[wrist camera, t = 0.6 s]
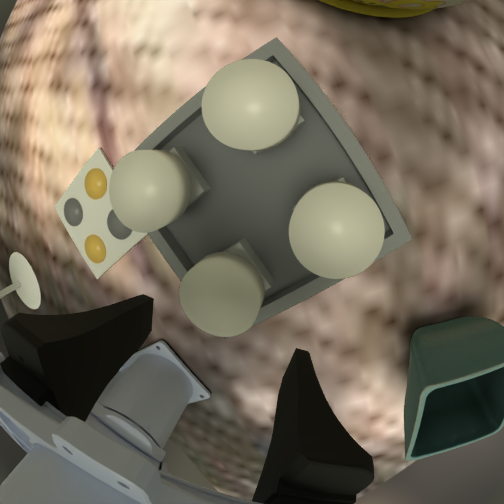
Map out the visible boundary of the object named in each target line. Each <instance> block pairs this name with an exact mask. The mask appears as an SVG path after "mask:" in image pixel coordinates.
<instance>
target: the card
mask: <svg viewBox="0 0 504 504" xmlns="http://www.w3.org/2000/svg"><path fill="white" fill-rule="evenodd" d="M112 172H113V167H112V165H111V164H110V162H109V160H108V159H107V157H106V155H105V153H104V152H103V150H102V148H98V149H97V151H96V152H95V153H94V154H93V155H92V157H91V158H90V159H89V161H88V162H87V163H86V164H85V166H84V167H83V168H82V170H81V171H80V172H79V173H78V175H77V176H76V178H75V179H74V180H73V182H72V183H71V184H70V186H69V187H68V189H67V190H66V191H65V193H64V194H63V196H62V197H61V199H60V200H59V202H58V203H57V205H56V206H55V209H56V211H57V213H58V215H59V216H60V218H61V220H62V222H63V224H64V226H65V227H66V229H67V231H68V233H69V234H70V236H71V238H72V240H73V241H74V243H75V245H76V246H77V248H78V250H79V251H80V253H81V255H82V256H83V258H84V259H85V261H86V263H87V264H88V266H89V267H90V269H91V270H92V272H93V273H94V275H95V277H96V278H97V279H98V278H100V277H101V276H102V275H103V274H104V273H105V272H106V271H107V270H108V269H109V268H110V267H111V266H113V265H114V264H115V263H116V262H117V261H118V260H119V259H120V258H121V257H122V256H124V255H125V254H126V253H127V252H128V251H129V250H130V249H131V248H133V247H134V246H135V245H136V244H137V243H138V242H139V241H141V240H142V239H143V238H144V237H145V236H146V235H147V234H148V233H140V232H136V231H133V230H131V229H129V228H128V227H126V226H125V225H124V224H123V223H122V222H121V221H120V220H119V219H118V217H117V216H116V214H115V212H114V210H113V208H112V205H111V202H110V197H109V183H110V178H111V174H112Z"/></svg>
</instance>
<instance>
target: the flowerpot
mask: <svg viewBox="0 0 504 504" xmlns="http://www.w3.org/2000/svg"><path fill="white" fill-rule="evenodd" d="M319 1H322V2H324V3H327V4H329V5H332V6H335V7H338V8H341V9H344V10H348V11H352V12H356V13H360V14H365V15H371V16H378V17H390V18H402V17H413V16H418V15H421V14H424V13H427V12H429V11H431V10H433V9H436V8H443V7H449V6H454V5H458V4H461V3H464V2H467V1H470V0H319Z"/></svg>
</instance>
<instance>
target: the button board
mask: <svg viewBox="0 0 504 504" xmlns="http://www.w3.org/2000/svg"><path fill="white" fill-rule="evenodd" d="M244 59H260V60H265V61H268V62H271V63H273V64H275V65H277V66H278V67H280V68H281V69H282V70H284V71H285V72H286V73H287V74H288V75H289V77H290V78H291V80H292V81H293V83H294V85H295V88H296V91H297V94H298V97H299V101H300V117H299V121H298V124H297V126H296V128H295V130H294V131H293V133H292V134H291V135H290V136H289V137H288V138H287V139H286V140H285V141H284V142H283V143H281V144H279V145H278V146H276V147H273V148H271V149H267V150H262V151H250V150H241V149H236V148H232V147H229V146H227V145H225V144H223V143H221V142H220V141H219V140H217V139H216V138H215V137H214V136H213V135H212V134H211V133H210V131H209V130H208V128H207V127H206V124H205V122H204V119H203V116H202V97H203V93H204V91H205V88H206V87H204V88H203V89H202V90H201V91H199V92H198V93H197V94H196V95H195V96H193V97H192V98H191V99H190V100H189V101H187V102H186V103H185V104H184V105H183V106H181V107H180V108H179V109H178V110H177V111H176V112H175V113H173V114H172V115H171V116H170V117H169V118H168V119H167V120H166V121H165V122H163V123H162V124H161V125H160V126H159V127H158V128H157V129H156V130H155V131H154V132H153V133H152V134H151V135H150V136H149V137H148V138H146V139H145V140H144V141H143V142H142V143H141V144H140V145H139V146H138V147H137V148H136V149H135V150H134V151H136V150H165V151H168V152H171V153H173V154H174V155H176V156H177V157H178V158H179V159H180V160H181V161H182V162H183V163H184V165H185V166H186V168H187V170H188V173H189V176H190V179H191V197H190V201H189V204H188V206H187V209H186V210H185V212H184V213H183V214H182V216H181V217H179V218H178V219H177V220H176V221H174V222H172V223H170V224H168V225H166V226H164V227H162V228H160V229H158V230H156V231H153V232H149V233H148V235H149V236H150V238H151V239H152V241H153V242H154V244H155V245H156V247H157V248H158V250H159V251H160V252H161V254H162V255H163V257H164V258H165V260H166V261H167V262H168V264H169V265H170V267H171V268H172V269H173V271H174V272H175V274H176V275H177V276H178V278H179V279H180V281H182V279H183V277H184V276H185V274H186V273H187V272H188V271H189V270H190V269H191V268H193V267H194V266H195V265H196V264H197V263H198V262H199V261H200V260H201V259H203V258H204V257H206V256H207V255H209V254H212V253H216V252H230V253H234V254H237V255H240V256H242V257H243V258H245V259H247V260H248V261H249V262H251V263H252V264H253V265H254V266H255V268H256V269H257V270H258V272H259V273H260V275H261V277H262V280H263V283H264V288H265V294H264V299H263V303H262V305H261V308H260V310H259V313H258V315H257V318H256V320H255V322H254V323H253V325H252V326H254V325H256V324H258V323H260V322H262V321H264V320H266V319H268V318H270V317H272V316H274V315H276V314H278V313H280V312H282V311H284V310H286V309H288V308H290V307H292V306H294V305H296V304H298V303H300V302H302V301H304V300H306V299H308V298H310V297H312V296H313V295H315V294H317V293H319V292H321V291H323V290H325V289H327V288H328V287H330V286H332V285H334V284H336V283H338V282H340V281H341V280H343V279H345V278H343V279H330V278H325V277H321V276H319V275H316V274H314V273H312V272H311V271H309V270H308V269H307V268H305V267H304V266H303V265H302V264H301V263H300V262H299V260H298V259H297V258H296V256H295V254H294V252H293V250H292V248H291V244H290V240H289V223H290V219H291V216H292V213H293V211H294V209H295V207H296V204H297V203H298V201H299V199H300V198H301V197H302V195H303V194H304V193H305V192H306V191H308V190H309V189H310V188H312V187H314V186H315V185H317V184H320V183H323V182H327V181H341V182H346V183H349V184H352V185H354V186H356V187H357V188H359V189H360V190H362V191H363V192H364V193H366V194H367V195H368V196H369V197H370V198H371V199H372V200H373V201H374V202H375V203H376V205H377V206H378V208H379V210H380V212H381V214H382V217H383V221H384V229H385V234H384V241H383V245H382V248H381V251H380V252H379V254H378V256H377V258H376V259H375V260H374V262H375V261H377V260H378V259H380V258H382V257H383V256H385V255H387V254H388V253H390V252H392V251H393V250H395V249H397V248H398V247H400V246H402V245H403V244H405V243H407V242H408V241H410V240H411V239H412V237H411V235H410V233H409V231H408V229H407V227H406V225H405V223H404V221H403V219H402V217H401V215H400V213H399V211H398V209H397V207H396V205H395V203H394V201H393V199H392V198H391V196H390V194H389V192H388V190H387V188H386V187H385V185H384V183H383V181H382V180H381V178H380V176H379V174H378V173H377V171H376V169H375V168H374V166H373V164H372V163H371V161H370V159H369V158H368V156H367V155H366V153H365V151H364V150H363V148H362V147H361V145H360V144H359V142H358V140H357V139H356V137H355V136H354V134H353V133H352V131H351V130H350V129H349V127H348V126H347V124H346V123H345V121H344V120H343V118H342V117H341V116H340V114H339V113H338V111H337V110H336V109H335V107H334V106H333V105H332V103H331V102H330V101H329V99H328V98H327V97H326V95H325V94H324V93H323V91H322V90H321V89H320V87H319V86H318V85H317V84H316V82H315V81H314V80H313V79H312V77H311V76H310V75H309V74H308V73H307V71H306V70H305V69H304V68H303V67H302V65H301V64H300V63H299V62H298V61H297V60H296V58H295V57H294V56H293V55H292V54H291V53H290V52H289V51H288V49H287V48H286V47H285V46H284V45H283V44H282V43H281V42H280V41H279V40H278V39H277V37H276V38H275V39H273V40H271V41H270V42H268V43H267V44H265V45H263V46H262V47H260V48H259V49H257V50H256V51H254V52H253V53H251V54H250V55H248V56H247V57H245V58H244ZM242 60H243V59H242ZM252 326H251V327H252ZM224 338H225V339H226V338H228V337H224Z"/></svg>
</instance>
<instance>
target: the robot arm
mask: <svg viewBox="0 0 504 504" xmlns="http://www.w3.org/2000/svg"><path fill="white" fill-rule="evenodd" d="M153 300H154V299H153V298H151V297H149V296H146V295H144V294H143V295H139V296H136V297H133V298H130V299H127V300H124V301H121V302H118V303H115V304H112V305H109V306H105V307H102V308H98V309H95V310H90V311H86V312H80V313H74V314H64V315H33V314H24V313H18V314H16V315H15V316H13V317H12V318H10V319H9V320H7V321H6V322H5V323H3V324H2V336H3V339H4V342H5V345H6V348H7V351H8V353H9V357H7V358H6V359H5V357H4V356H3V354H2V353H1V352H0V425H1V426H2V427H3V428H4V429H5V430H6V432H7V433H8V434H9V435H10V436H11V437H12V438H13V439H14V440H15V441H16V442H17V443H18V444H19V445H20V446H21V447H22V448H23V449H24V450H25V451H26V452H27V453H28V454H27V455H26V456H25V457H24V459H23V460H22V461H21V462H20V463H19V464H18V465H17V467H16V468H15V469H14V470H13V471H12V472H11V474H10V475H9V476H8V477H7V478H6V479H5V481H4V482H3V483H2V484H1V485H0V504H354V503H355V502H356V494H358V493H359V492H360V491H362V490H363V489H365V488H366V487H367V486H368V485H370V484H371V483H372V482H373V480H374V465H373V460H372V456H371V455H370V454H368V453H367V452H366V451H365V450H364V449H363V448H362V447H361V446H360V445H359V444H358V443H357V442H356V441H355V440H354V439H353V438H352V437H351V436H350V435H349V433H348V432H347V431H346V430H345V428H344V427H343V426H342V424H341V423H340V422H339V420H338V419H337V417H336V416H335V414H334V413H333V411H332V409H331V408H330V406H329V404H328V402H327V400H326V398H325V396H324V394H323V391H322V389H321V387H320V384H319V381H318V379H317V376H316V373H315V370H314V367H313V364H312V360H311V357H310V354H309V352H308V351H304V350H301V349H297V348H296V349H295V352H294V354H293V356H292V359H291V361H290V363H289V365H288V368H287V370H286V372H285V374H284V376H283V379H282V383H281V387H280V390H279V394H278V400H277V407H276V414H275V421H274V428H273V434H272V439H271V443H270V447H269V450H268V454H267V457H266V461H265V464H264V467H263V470H262V473H261V476H260V479H259V482H258V485H257V488H256V491H255V494H254V496H253V499H252V501H249V500H245V499H241V498H237V497H234V496H230V495H227V494H223V493H220V492H217V491H214V490H210V489H207V488H205V487H202V486H199V485H196V484H193V483H191V482H188V481H185V480H183V479H180V478H178V477H175V476H173V475H170V474H169V471H168V466H167V464H166V463H165V462H163V461H162V459H163V457H164V455H165V454H166V452H165V451H163V450H162V449H163V447H164V445H165V443H166V442H167V440H168V438H169V436H170V435H171V433H172V431H173V429H174V427H175V426H176V424H177V422H178V420H179V418H180V417H181V415H182V413H183V411H184V409H185V408H186V406H187V404H189V403H193V402H197V401H200V400H204V399H208V398H210V396H211V393H210V392H209V391H208V390H207V389H206V388H205V387H204V386H203V385H202V384H201V382H200V381H199V380H198V379H197V378H196V377H195V376H194V375H193V374H192V373H191V371H190V370H189V369H188V368H187V367H186V366H185V365H184V364H183V362H182V361H181V360H180V359H179V358H178V357H177V356H176V354H175V353H174V352H173V351H172V350H171V348H170V347H169V346H168V345H167V344H166V343H165V342H164V341H162V340H161V341H158V342H156V343H154V344H152V345H150V346H148V347H146V348H144V349H142V350H140V351H138V352H136V351H137V350H138V349H139V348H140V346H141V345H142V344H143V343H144V341H145V340H146V338H147V337H148V335H149V334H150V332H151V331H152V314H153ZM158 346H159V347H158ZM135 352H136V353H135ZM118 371H119V372H118ZM117 372H118V373H117ZM116 373H117V374H116ZM115 374H116V375H115ZM114 375H115V377H114ZM113 377H114V378H113ZM112 378H113V379H112ZM111 379H112V380H111Z"/></svg>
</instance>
